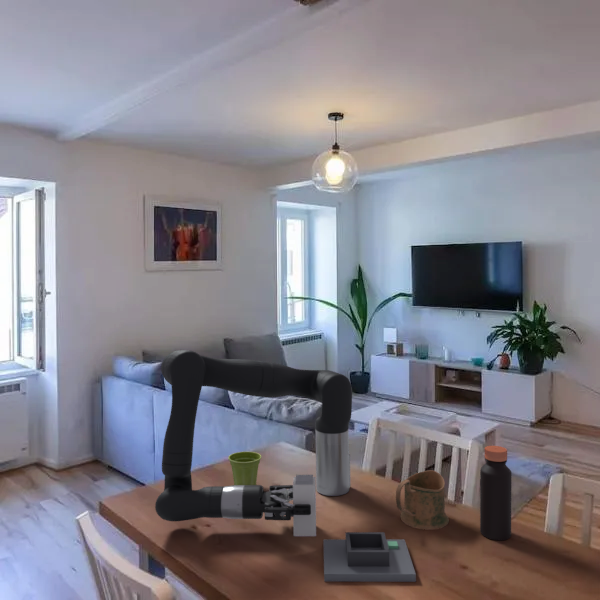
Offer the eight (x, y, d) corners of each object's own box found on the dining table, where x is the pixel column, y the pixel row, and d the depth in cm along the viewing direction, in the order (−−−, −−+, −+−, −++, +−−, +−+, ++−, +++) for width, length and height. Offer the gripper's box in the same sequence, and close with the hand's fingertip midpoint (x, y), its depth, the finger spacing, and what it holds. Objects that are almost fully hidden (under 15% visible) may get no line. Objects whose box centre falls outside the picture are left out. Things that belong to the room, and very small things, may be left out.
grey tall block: (294, 525, 133) (293, 473, 132) (316, 525, 133) (315, 473, 132) (293, 536, 128) (292, 482, 127) (316, 536, 127) (315, 482, 127)
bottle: (483, 524, 132) (483, 442, 131) (513, 531, 128) (514, 446, 127) (477, 536, 126) (477, 450, 125) (508, 543, 123) (508, 455, 121)
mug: (377, 528, 131) (376, 479, 130) (416, 504, 144) (416, 459, 143) (420, 544, 123) (419, 491, 122) (457, 517, 136) (457, 470, 135)
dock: (324, 581, 109) (324, 559, 109) (323, 545, 123) (323, 526, 123) (415, 581, 108) (415, 559, 108) (404, 546, 122) (404, 526, 122)
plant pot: (244, 477, 164) (243, 449, 164) (268, 484, 159) (268, 455, 158) (222, 488, 157) (221, 458, 156) (247, 495, 151) (246, 464, 151)
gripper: (238, 498, 123) (310, 498, 122) (246, 475, 137) (311, 474, 137) (238, 531, 123) (311, 531, 123) (246, 504, 138) (311, 504, 137)
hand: (311, 501), depth 130 cm, fingers open, 8 cm apart
